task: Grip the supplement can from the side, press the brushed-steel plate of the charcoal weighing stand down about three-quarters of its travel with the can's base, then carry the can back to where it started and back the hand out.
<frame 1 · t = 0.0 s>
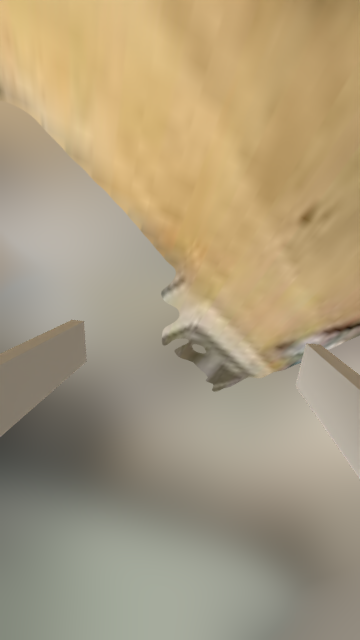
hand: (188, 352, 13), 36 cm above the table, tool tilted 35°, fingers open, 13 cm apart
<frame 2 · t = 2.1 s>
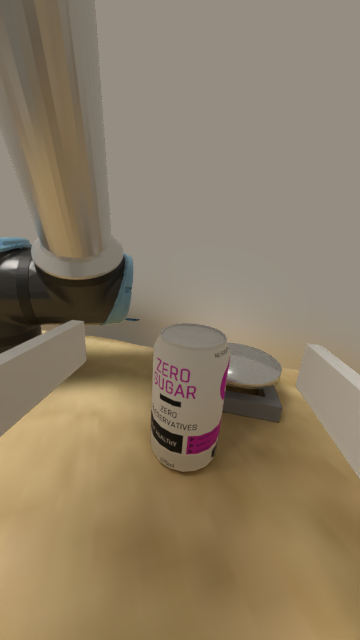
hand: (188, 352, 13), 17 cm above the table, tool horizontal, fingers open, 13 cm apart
scale frame: (232, 389, 39), on the table
scale plate: (236, 368, 38), point 4 cm above the table, slide at 0.0 cm
supplement can: (183, 446, 27), on the table
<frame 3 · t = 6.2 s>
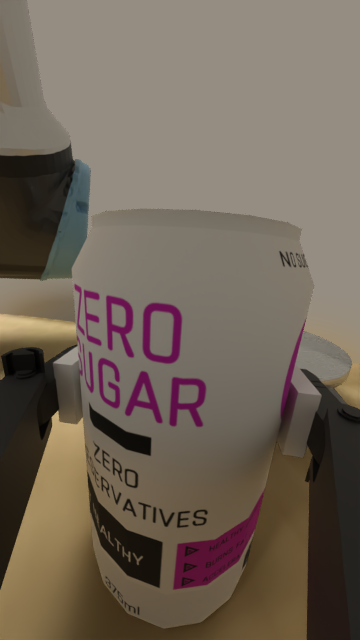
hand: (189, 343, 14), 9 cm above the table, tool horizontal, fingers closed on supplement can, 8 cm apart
scale plate: (264, 357, 23), point 4 cm above the table, slide at 0.0 cm
supplement can: (171, 517, 12), on the table, touching gripper
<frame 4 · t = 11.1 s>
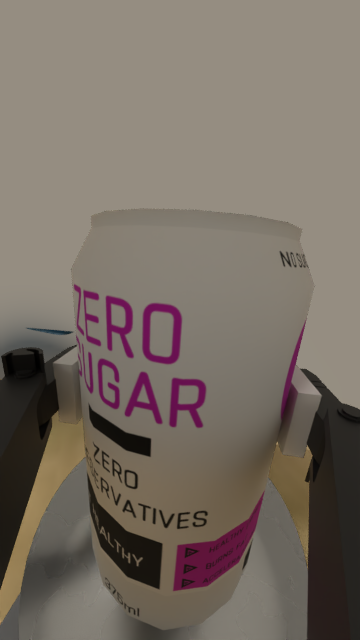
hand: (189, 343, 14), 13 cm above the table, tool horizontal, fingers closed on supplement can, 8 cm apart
scale frame: (166, 565, 14), on the table
scale plate: (169, 536, 13), point 3 cm above the table, slide at -1.5 cm, touching supplement can
supplement can: (171, 518, 12), point 5 cm above the table, touching gripper, scale plate
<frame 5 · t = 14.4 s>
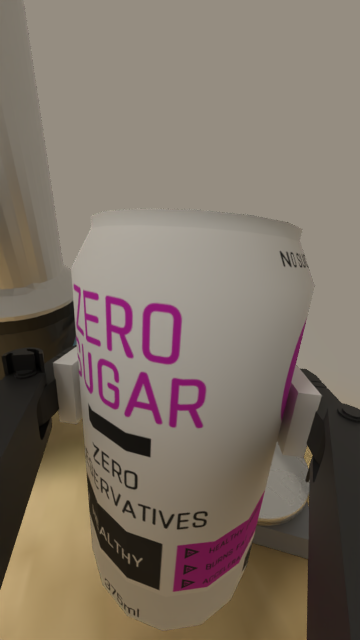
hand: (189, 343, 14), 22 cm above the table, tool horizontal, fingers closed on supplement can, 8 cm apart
scale frame: (240, 479, 28), on the table
scale plate: (243, 463, 27), point 3 cm above the table, slide at -1.6 cm
supplement can: (171, 518, 12), point 13 cm above the table, touching gripper
when the fingers open (10 cm above the table, at t = 17.0 s): supplement can drops 1 cm, on the table.
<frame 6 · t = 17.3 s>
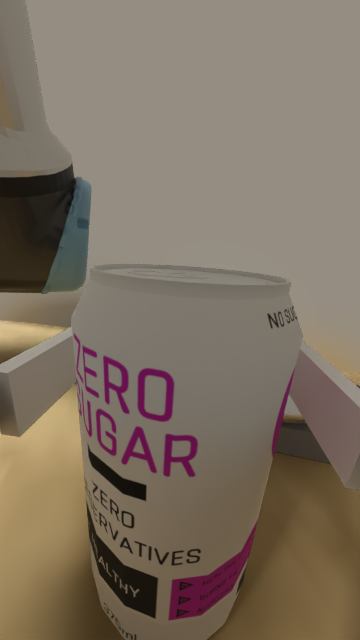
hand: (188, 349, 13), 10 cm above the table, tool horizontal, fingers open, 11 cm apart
scale frame: (255, 402, 25), on the table
scale plate: (259, 381, 24), point 3 cm above the table, slide at -1.6 cm
supplement can: (169, 538, 13), on the table
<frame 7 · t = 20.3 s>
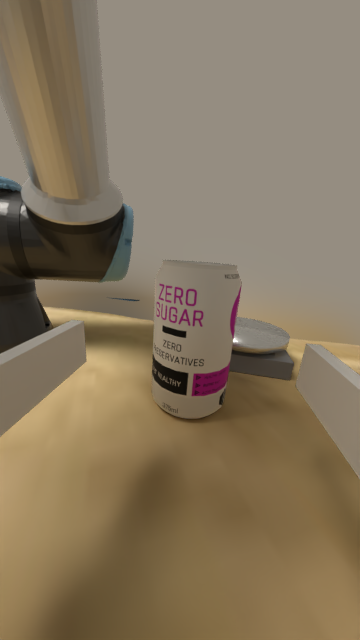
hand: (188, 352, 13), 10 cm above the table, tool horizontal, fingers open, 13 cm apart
scale frame: (239, 353, 37), on the table
scale plate: (241, 339, 36), point 3 cm above the table, slide at -1.6 cm
supplement can: (187, 398, 25), on the table
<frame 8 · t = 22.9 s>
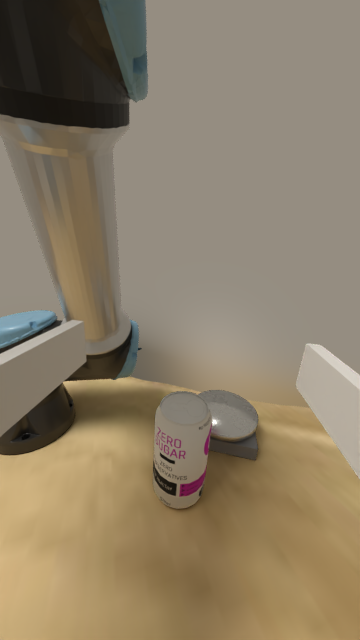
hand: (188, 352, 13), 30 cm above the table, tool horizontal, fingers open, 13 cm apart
scale frame: (221, 427, 47), on the table
scale plate: (222, 417, 47), point 3 cm above the table, slide at -1.6 cm
supplement can: (178, 484, 35), on the table
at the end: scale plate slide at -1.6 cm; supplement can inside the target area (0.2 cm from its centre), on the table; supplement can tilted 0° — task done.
